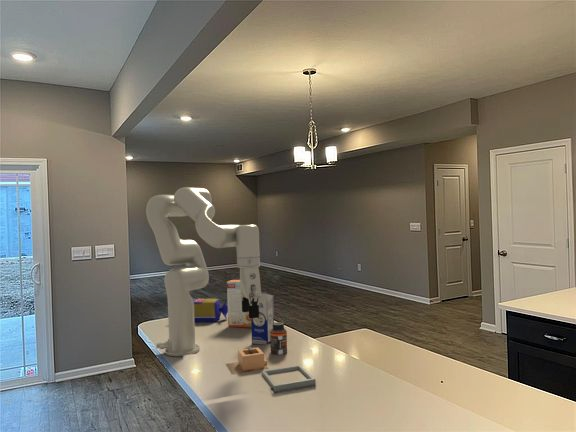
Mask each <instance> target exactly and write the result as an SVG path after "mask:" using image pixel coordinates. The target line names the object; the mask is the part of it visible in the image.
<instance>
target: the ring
mask: <svg viewBox="0 0 576 432" xmlns="http://www.w3.org/2000/svg"><path fill="white" fill-rule="evenodd" d="M251 348H252V349H253V350H254V352H253V354H248V351H249V350H248V348H243V349H237V353H238V354H237V357H238V358H237V359H238V360H237V362H238V364H239V365H240V367H241V368H242V370H243V371H245V370H251V369H258V368H264V365H268V360H267V359H266V358H265V352H263V351H262V349H260V347H259V346H258V347H251Z"/></svg>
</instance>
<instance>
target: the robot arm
mask: <svg viewBox="0 0 576 432" xmlns="http://www.w3.org/2000/svg"><path fill="white" fill-rule="evenodd" d="M212 202H213V199H212V195H211V193H210V192H209V190H208V189H206V188H203V187H193V186H192V187H191V186H186V187H180V188H179V189H177V190H176V191H175V193H174V194H156V195H154V196H152V197H150V198H149V200H148V202H147V204H146V209H145V214H146V219H147V222H148V224H149V227H150V228H151V229H152V232H153V234H154V237H155V241H156V244H157V247H158V251H159V254H160V257H161V261H162V262H163V264H165V265H167V266H177V267H173V268H171V269H169V270H168V271H167V272H166V273H165V275H164V278H163V279H164V287H165V291H166V292H165V293H166V297H167V309H168V310H167V313H168V315H167V316H168V318H167V319H168V338H167V340H165V341H164V342H156V343H155V345H156V347H155V348H156V349H160V350H164V354H165V355H167V356H170V357H183V356H187V355H188V356H190V355H193V354H195V353H197V352H198V353H199V351H200V345H199V344H197V343H196V331H195V330H196V327H195V325H196V322H195V320H194V302H193V299H194V298H193V297H192V296H191V294H190V292H191V291H196V290H202V289H203V288H206V287H207V285H208V284H209V281H210V280H209V278H210V276H209V275H210V273H209V270H208V267H207V263H206V261H205V258H204V254H203V251H202V249H201V246H200V245H199V244H198V242H196V241H195V240H193V239H182V238H180V235H179V232H178V229H177V227H176V226H175V224H174V223H173V221H171V220H170V219H169V218H168V217H174V218H175V217H189V218H190V219H191V220H193V221H194V222H195V223H194V227H195V231H196V233H197V235H198V236H199V238H201V239H202V240H203V241H204V242H205V243H206V244H208V245H209V246H211V247H212V248H215V249H223V248H225V249H226V248H233V247H235V248H236V249H235V250H236V268H237V269H238V268H239V280H240V291H241V295H242V312H249V318H258V317H259V302H258V300H259V299H258V298H260V297H261V292H262V287H261V277H260V276H261V275H260V269H259V268H260V267H261V257H260V229H259V226H257V224H221V225H220V224H217V223H215V222H214V221H212V220H213V218H214V217H215V215H216V209H215V206H214V205H213V204H212ZM180 265H185V266H180ZM251 299H252V301H251Z"/></svg>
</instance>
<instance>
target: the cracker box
mask: <svg viewBox="0 0 576 432" xmlns="http://www.w3.org/2000/svg"><path fill="white" fill-rule="evenodd" d="M226 291H227V293H226V295H227V297H226V300H227V301H226V303H227V306H228V313H227V325H228V327H229V326H230V328H231V327H232V328H251V318H249V312H242V295H241V291H240V279H231V280H228V281H226Z"/></svg>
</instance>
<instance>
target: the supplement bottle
mask: <svg viewBox="0 0 576 432" xmlns="http://www.w3.org/2000/svg"><path fill="white" fill-rule="evenodd" d="M287 333H288V332H287V329H286V328H285V324H284V322H280V321H278V322H274V323H273V329H272V330H271V331H270V344H269V345H270V354H271V355H274V356H283V355H285V354H288V335H287Z"/></svg>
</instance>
